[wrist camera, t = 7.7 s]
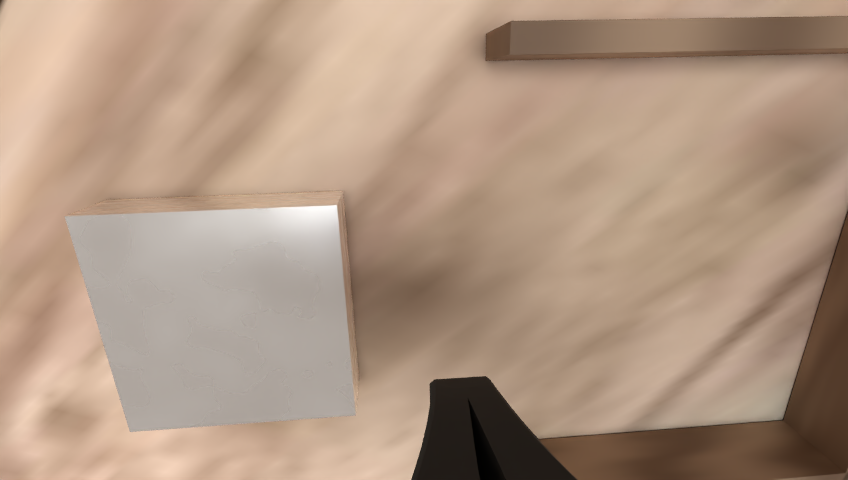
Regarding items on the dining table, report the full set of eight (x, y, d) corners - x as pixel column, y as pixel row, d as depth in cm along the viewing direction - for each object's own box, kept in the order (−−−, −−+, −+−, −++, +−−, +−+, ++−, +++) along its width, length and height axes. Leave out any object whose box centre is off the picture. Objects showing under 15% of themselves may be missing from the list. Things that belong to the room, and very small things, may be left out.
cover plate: (344, 187, 16) (337, 205, 14) (359, 373, 19) (355, 415, 16) (114, 196, 15) (65, 216, 13) (163, 386, 18) (130, 431, 16)
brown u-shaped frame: (926, 26, 15) (1050, 13, 12) (794, 432, 21) (857, 486, 18) (486, 33, 14) (510, 21, 11) (476, 458, 20) (491, 519, 17)
